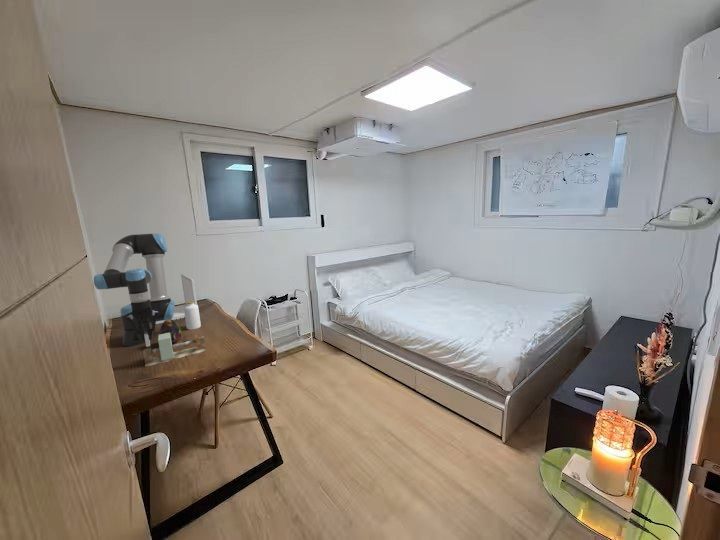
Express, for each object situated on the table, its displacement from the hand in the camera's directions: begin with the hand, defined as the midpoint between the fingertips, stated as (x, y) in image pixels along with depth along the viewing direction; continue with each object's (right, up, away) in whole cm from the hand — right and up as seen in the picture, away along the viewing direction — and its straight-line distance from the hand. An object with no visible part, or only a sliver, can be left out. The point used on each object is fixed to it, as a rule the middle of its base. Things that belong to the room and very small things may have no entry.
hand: (148, 345), depth 146 cm
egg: (-3, -5, +23) cm, 24 cm away
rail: (+10, -7, +8) cm, 14 cm away
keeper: (+6, -8, +5) cm, 11 cm away
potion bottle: (-4, -1, +47) cm, 47 cm away
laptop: (-39, +3, +79) cm, 88 cm away
